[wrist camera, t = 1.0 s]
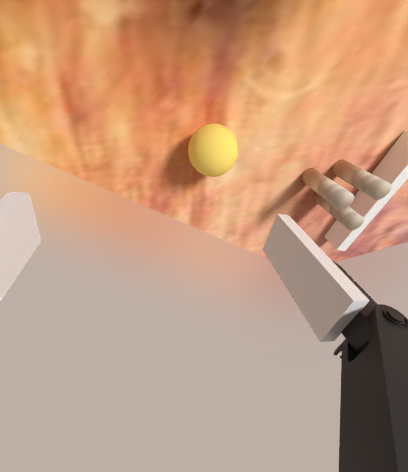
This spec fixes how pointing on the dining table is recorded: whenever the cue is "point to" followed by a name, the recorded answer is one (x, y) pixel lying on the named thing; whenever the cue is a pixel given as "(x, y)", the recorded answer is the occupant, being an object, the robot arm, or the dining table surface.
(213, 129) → the ball
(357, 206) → the wall
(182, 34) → the dining table surface
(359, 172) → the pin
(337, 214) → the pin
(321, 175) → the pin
